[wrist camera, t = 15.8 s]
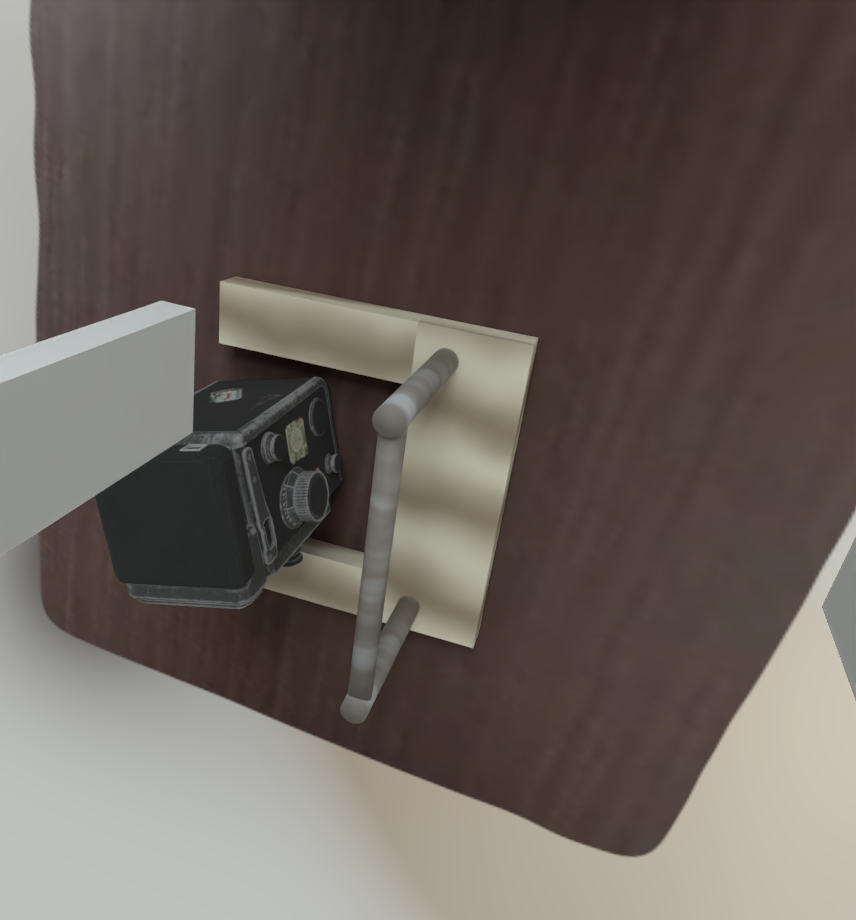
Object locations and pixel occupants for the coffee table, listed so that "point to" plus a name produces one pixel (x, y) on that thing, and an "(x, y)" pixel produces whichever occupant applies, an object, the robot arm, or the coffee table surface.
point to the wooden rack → (402, 464)
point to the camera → (226, 495)
